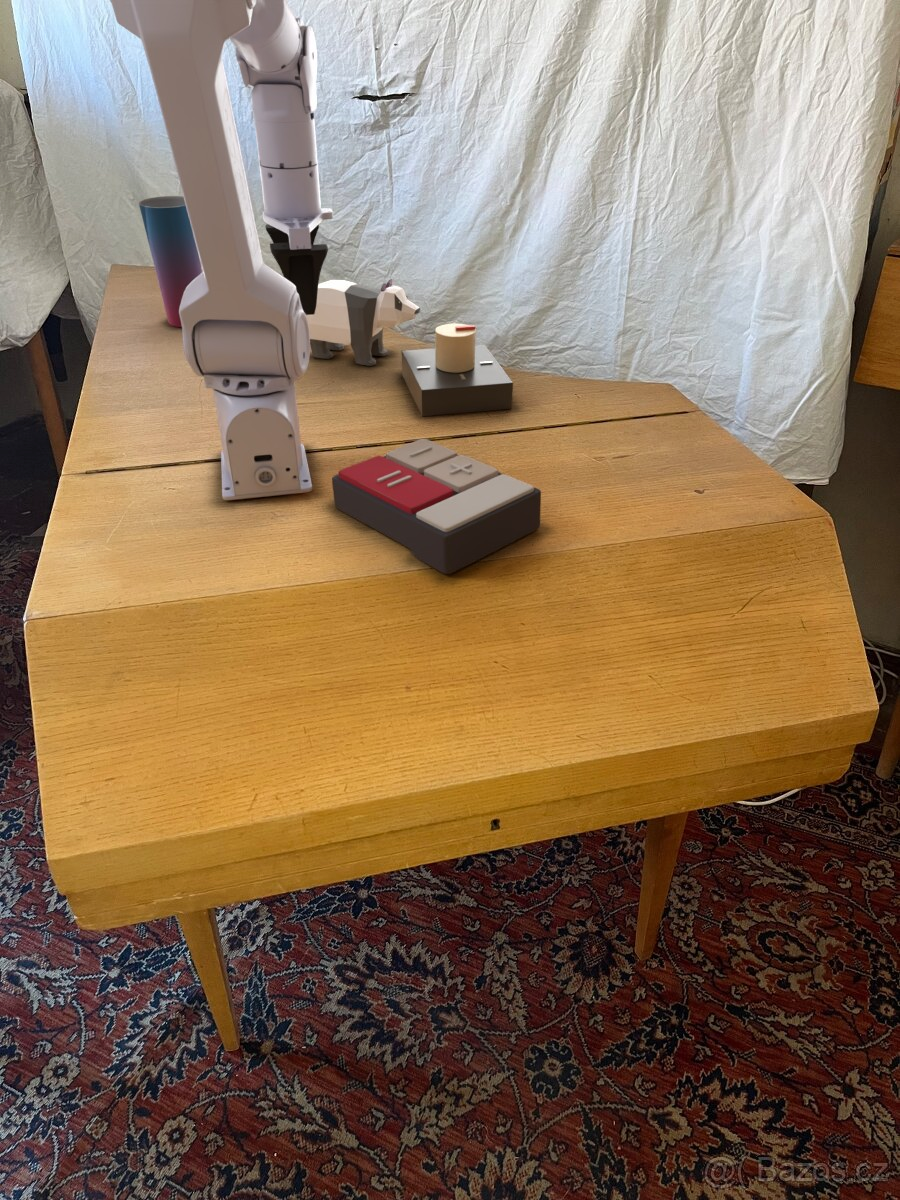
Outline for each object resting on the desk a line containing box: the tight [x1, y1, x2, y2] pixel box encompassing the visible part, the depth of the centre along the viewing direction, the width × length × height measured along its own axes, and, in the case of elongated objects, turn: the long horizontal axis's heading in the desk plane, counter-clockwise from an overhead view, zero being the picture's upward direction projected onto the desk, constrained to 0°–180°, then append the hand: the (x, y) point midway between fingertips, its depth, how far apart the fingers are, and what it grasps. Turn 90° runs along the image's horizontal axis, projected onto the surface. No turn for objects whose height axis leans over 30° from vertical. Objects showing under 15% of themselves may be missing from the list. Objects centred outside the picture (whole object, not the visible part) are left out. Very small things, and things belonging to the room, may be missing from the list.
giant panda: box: [306, 278, 421, 367], centre depth 103 cm, size 15×6×10 cm, turn 70°
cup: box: [138, 195, 203, 328], centre depth 112 cm, size 7×7×15 cm
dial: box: [434, 322, 477, 373], centre depth 94 cm, size 4×4×4 cm
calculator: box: [331, 438, 542, 575], centre depth 73 cm, size 11×4×15 cm
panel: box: [401, 344, 514, 417], centre depth 96 cm, size 12×10×3 cm
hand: (301, 303), depth 93 cm, fingers open, 7 cm apart
